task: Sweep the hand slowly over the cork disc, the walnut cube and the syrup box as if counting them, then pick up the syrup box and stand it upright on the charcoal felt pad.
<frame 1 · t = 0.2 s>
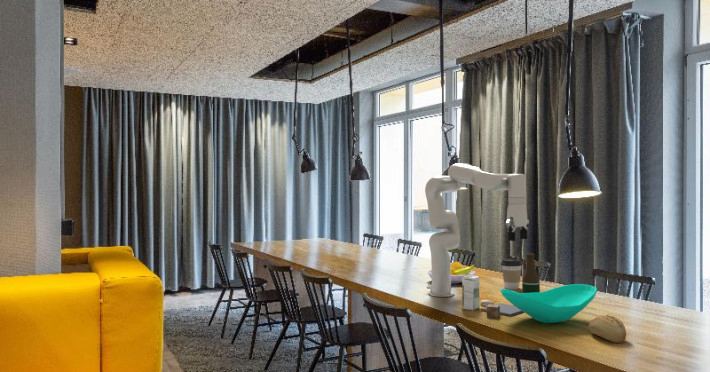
hand: (517, 239, 248), 31 cm above the table, tool pointing down, fingers open, 9 cm apart
coffee cup: (511, 288, 296), on the table
bread roll: (607, 339, 200), on the table
beer bottle: (531, 306, 252), on the table
felt pad: (505, 310, 245), on the table
fruit bowl: (452, 282, 316), on the table
syrup box: (471, 309, 250), on the table
table top decor: (549, 321, 225), on the table
walnut cube: (493, 316, 235), on the table
cork disc: (487, 305, 257), on the table
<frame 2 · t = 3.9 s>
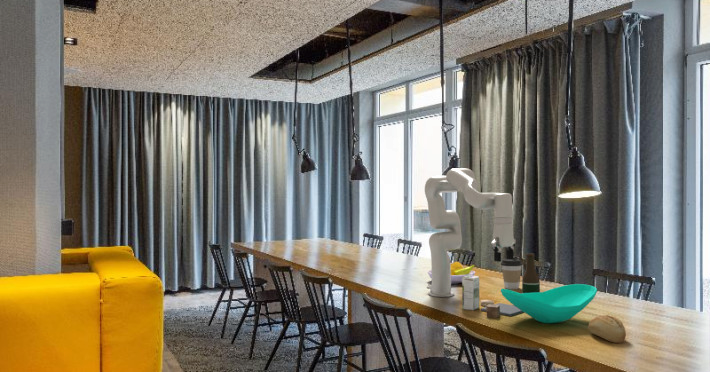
hand: (504, 260, 245), 22 cm above the table, tool pointing down, fingers open, 9 cm apart
nothing on the table moved.
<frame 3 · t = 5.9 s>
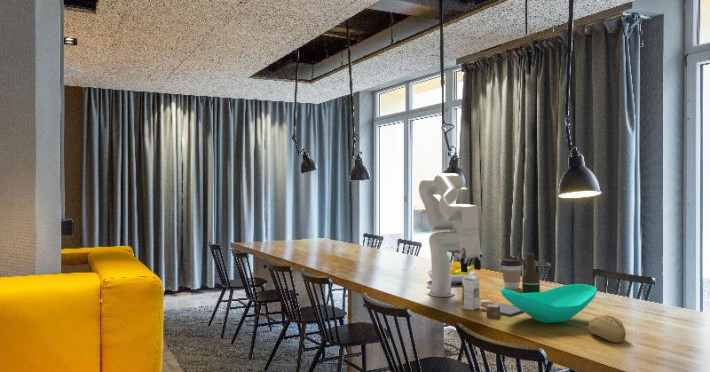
hand: (470, 270, 249), 17 cm above the table, tool pointing down, fingers open, 9 cm apart
nothing on the table moved.
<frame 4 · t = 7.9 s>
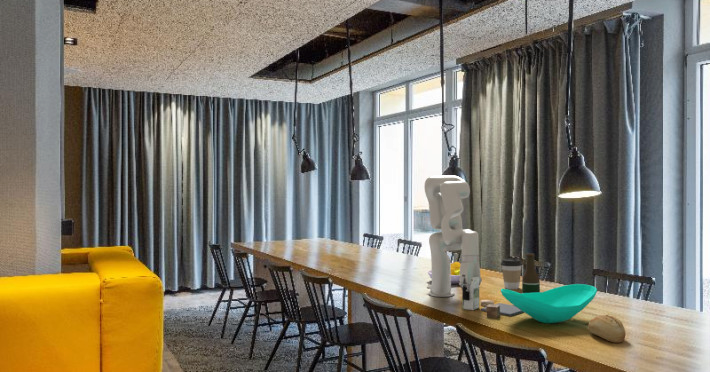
hand: (470, 298, 250), 5 cm above the table, tool pointing down, fingers closed on syrup box, 6 cm apart
syrup box: (471, 309, 250), on the table, touching gripper
everything else where it was.
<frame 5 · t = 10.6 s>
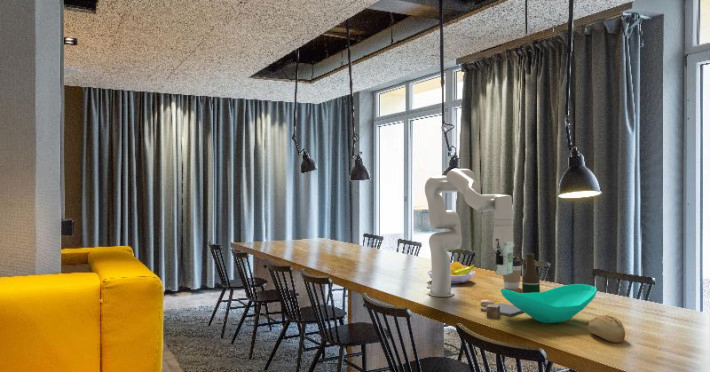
hand: (504, 263, 245), 21 cm above the table, tool pointing down, fingers closed on syrup box, 6 cm apart
syrup box: (504, 274, 245), point 16 cm above the table, touching gripper
everything else where it was.
when the fingers open (7 cm above the table, at t = 13.5 s): syrup box drops 1 cm, resting on felt pad.
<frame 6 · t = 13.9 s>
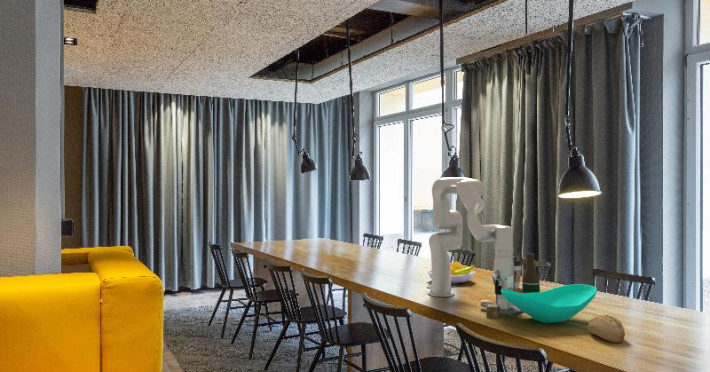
hand: (504, 292, 245), 8 cm above the table, tool pointing down, fingers open, 9 cm apart
syrup box: (504, 308, 245), point 1 cm above the table, touching felt pad
everything else where it was.
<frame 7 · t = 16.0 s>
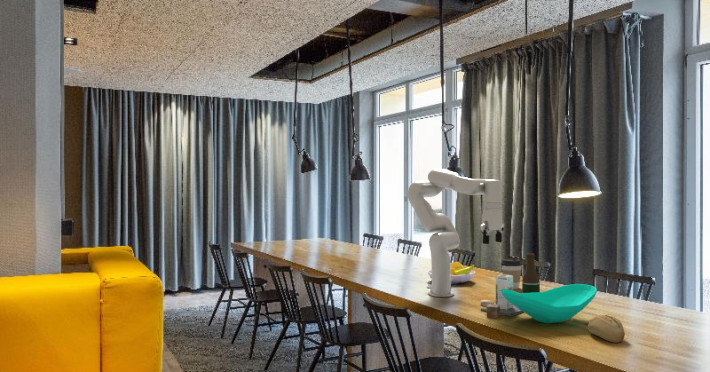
hand: (492, 242, 259), 28 cm above the table, tool pointing down, fingers open, 9 cm apart
nothing on the table moved.
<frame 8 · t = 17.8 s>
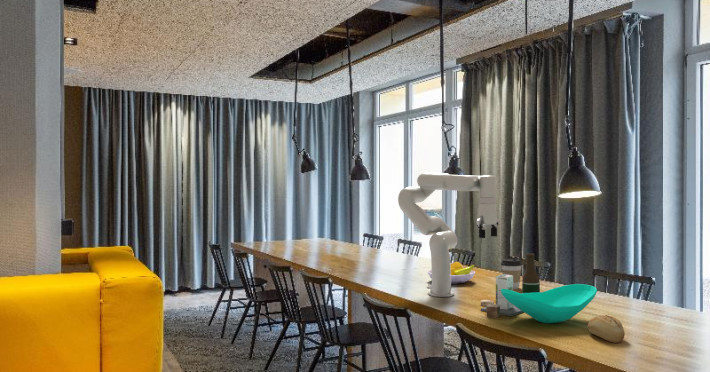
hand: (488, 237, 266), 30 cm above the table, tool pointing down, fingers open, 9 cm apart
nothing on the table moved.
at the end: syrup box inside the target area on the felt pad (0.2 cm from its centre), point 0.8 cm above the felt pad's base; syrup box tilted 0°; the gripper is holding nothing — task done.
